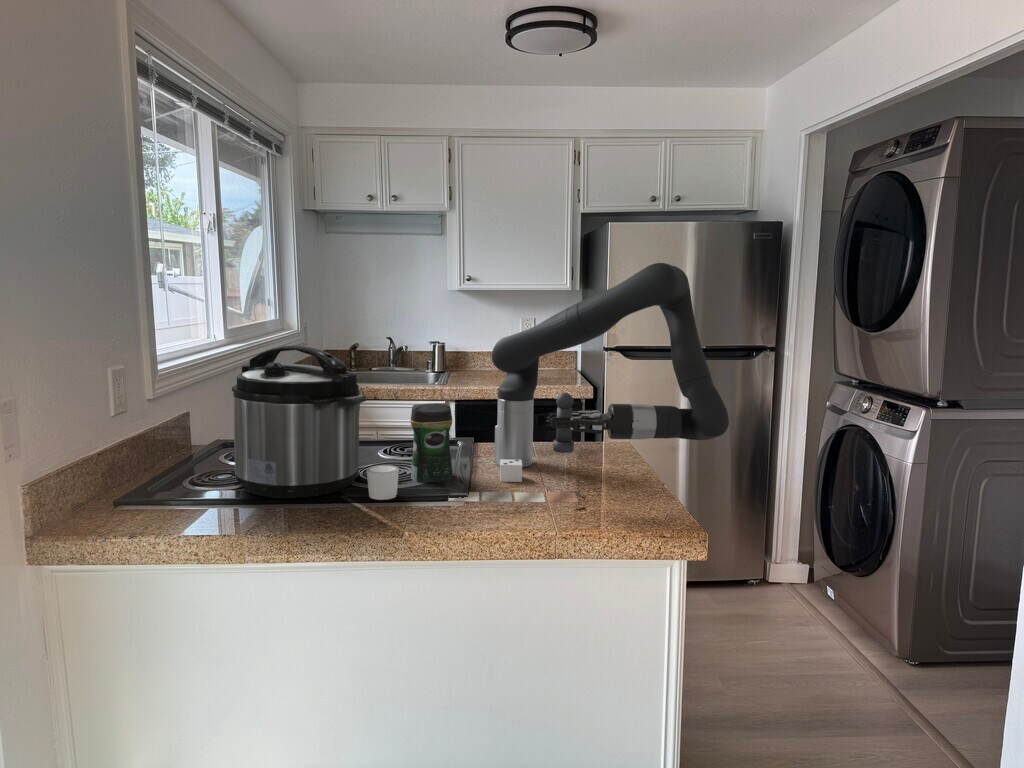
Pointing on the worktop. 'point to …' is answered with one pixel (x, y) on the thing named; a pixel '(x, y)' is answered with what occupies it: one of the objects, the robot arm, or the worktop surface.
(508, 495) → the track board
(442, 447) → the coffee jar
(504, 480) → the die
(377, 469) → the white cup
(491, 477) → the worktop surface
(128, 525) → the worktop surface
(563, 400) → the pawn
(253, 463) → the pressure cooker
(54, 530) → the worktop surface
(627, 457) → the worktop surface
